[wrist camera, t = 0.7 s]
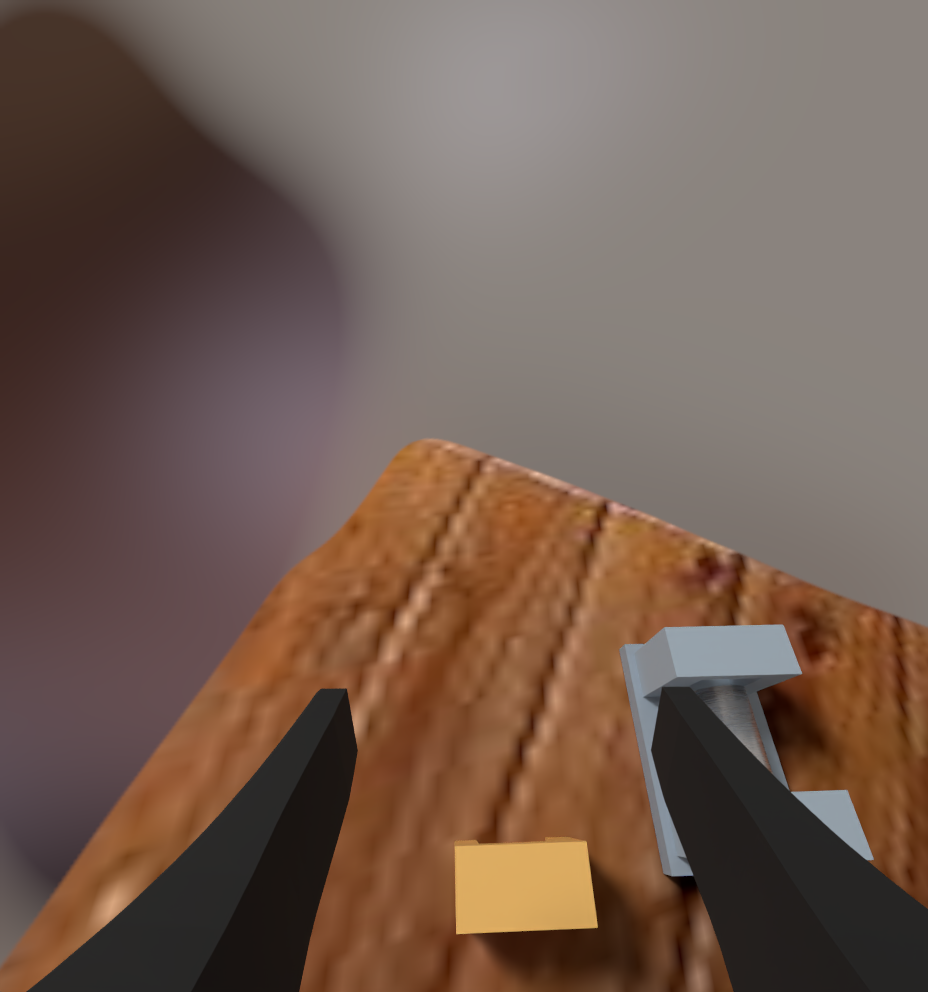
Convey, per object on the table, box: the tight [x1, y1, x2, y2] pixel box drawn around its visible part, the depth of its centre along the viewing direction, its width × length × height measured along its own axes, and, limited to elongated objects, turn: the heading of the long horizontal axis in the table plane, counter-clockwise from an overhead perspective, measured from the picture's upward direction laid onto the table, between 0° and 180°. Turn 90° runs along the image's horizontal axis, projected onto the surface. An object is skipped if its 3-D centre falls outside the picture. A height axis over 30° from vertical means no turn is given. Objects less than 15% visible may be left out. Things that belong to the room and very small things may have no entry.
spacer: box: [455, 837, 598, 934], centre depth 20 cm, size 3×5×4 cm, turn 92°
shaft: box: [695, 685, 773, 774], centre depth 20 cm, size 12×3×3 cm, turn 2°
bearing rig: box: [619, 625, 874, 876], centre depth 23 cm, size 10×6×6 cm, turn 2°
